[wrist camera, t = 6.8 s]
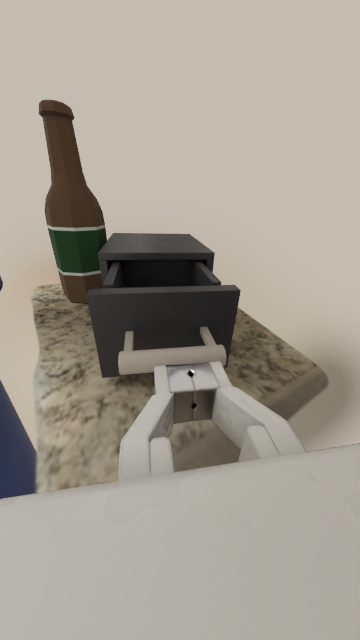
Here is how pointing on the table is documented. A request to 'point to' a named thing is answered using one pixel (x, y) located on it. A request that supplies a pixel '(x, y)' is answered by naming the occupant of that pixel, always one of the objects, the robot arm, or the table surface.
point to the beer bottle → (71, 207)
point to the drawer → (161, 316)
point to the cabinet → (152, 249)
